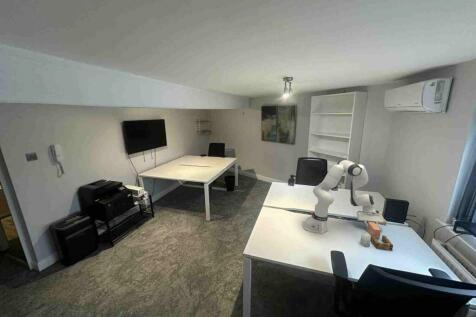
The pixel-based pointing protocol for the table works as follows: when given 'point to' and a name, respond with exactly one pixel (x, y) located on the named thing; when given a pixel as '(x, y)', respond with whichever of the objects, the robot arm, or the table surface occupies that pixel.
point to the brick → (383, 222)
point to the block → (374, 229)
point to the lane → (378, 245)
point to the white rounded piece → (365, 239)
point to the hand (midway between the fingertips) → (371, 226)
